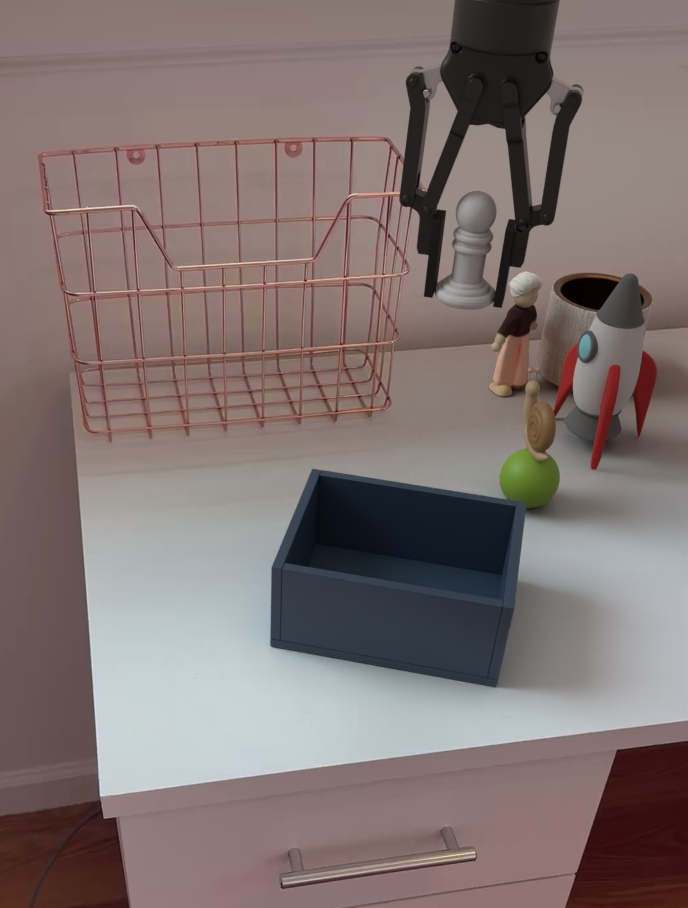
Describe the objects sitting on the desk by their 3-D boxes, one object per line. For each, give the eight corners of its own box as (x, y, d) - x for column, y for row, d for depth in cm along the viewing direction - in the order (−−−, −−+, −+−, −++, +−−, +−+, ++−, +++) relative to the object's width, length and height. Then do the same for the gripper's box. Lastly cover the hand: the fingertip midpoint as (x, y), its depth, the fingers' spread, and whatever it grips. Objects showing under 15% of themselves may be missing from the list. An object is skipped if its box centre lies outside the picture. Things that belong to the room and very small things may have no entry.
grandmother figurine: (511, 404, 110) (533, 289, 101) (478, 394, 111) (497, 280, 102) (537, 376, 115) (560, 264, 106) (505, 367, 116) (525, 255, 108)
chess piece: (457, 316, 87) (474, 207, 81) (421, 291, 90) (434, 185, 84) (507, 305, 89) (526, 198, 83) (470, 281, 92) (486, 177, 86)
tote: (510, 578, 87) (526, 502, 82) (496, 687, 77) (514, 608, 72) (308, 544, 90) (312, 468, 84) (269, 646, 80) (271, 567, 74)
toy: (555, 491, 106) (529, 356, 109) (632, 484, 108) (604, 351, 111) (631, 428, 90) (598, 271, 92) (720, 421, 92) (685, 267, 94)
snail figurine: (537, 478, 99) (562, 364, 91) (562, 517, 95) (591, 399, 87) (483, 483, 98) (504, 367, 90) (506, 522, 94) (530, 404, 85)
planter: (543, 396, 111) (560, 312, 105) (527, 350, 119) (543, 269, 113) (642, 400, 112) (666, 316, 105) (620, 354, 120) (641, 273, 113)
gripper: (374, -20, 72) (352, 298, 88) (638, 7, 70) (567, 330, 85) (393, -38, 78) (370, 265, 93) (639, -13, 75) (572, 294, 91)
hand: (464, 295), depth 89 cm, fingers closed on chess piece, 5 cm apart
